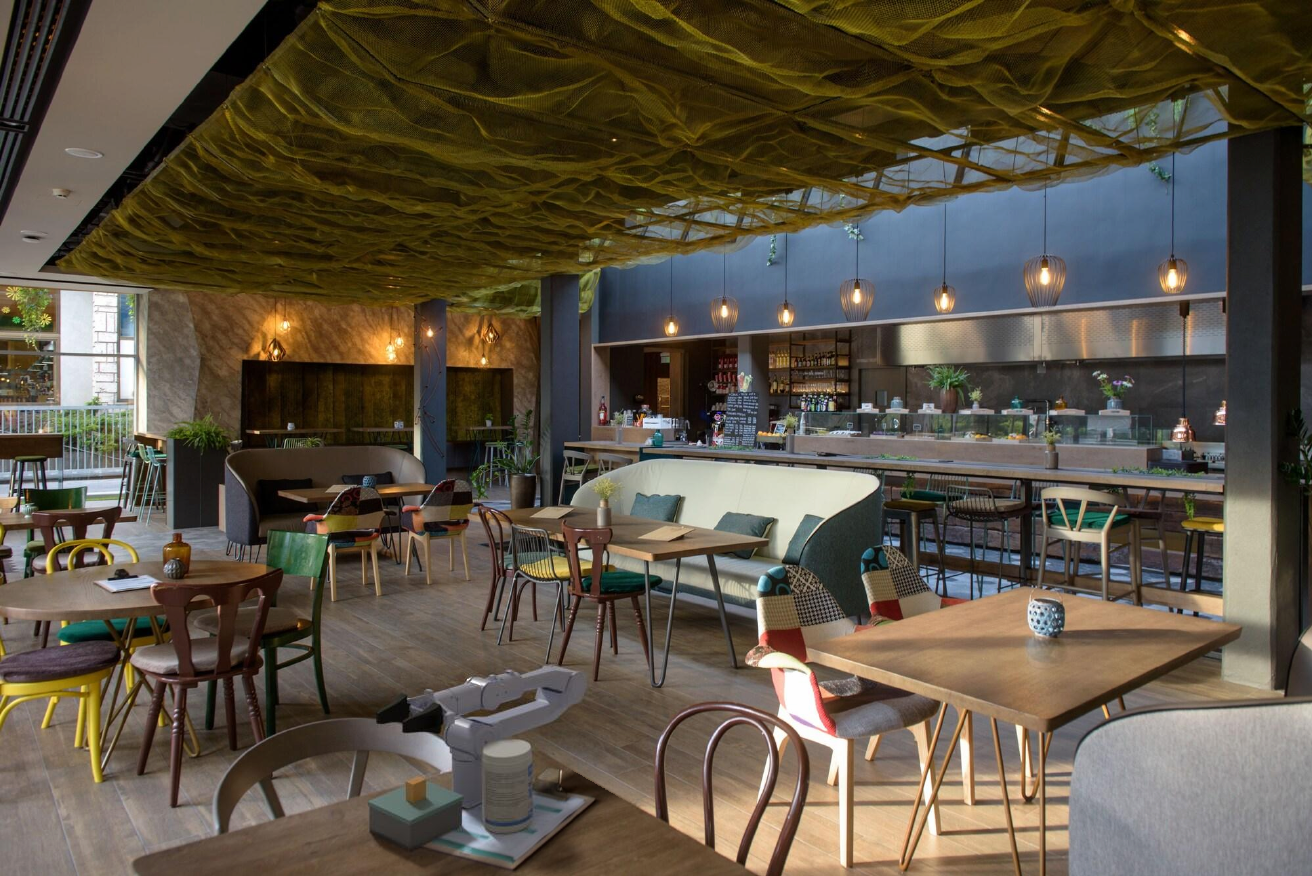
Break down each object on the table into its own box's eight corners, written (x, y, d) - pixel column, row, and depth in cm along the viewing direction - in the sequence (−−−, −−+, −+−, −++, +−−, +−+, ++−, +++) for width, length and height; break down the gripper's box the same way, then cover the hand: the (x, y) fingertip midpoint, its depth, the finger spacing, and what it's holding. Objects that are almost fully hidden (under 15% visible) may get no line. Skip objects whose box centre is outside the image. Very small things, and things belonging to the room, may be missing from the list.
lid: (421, 786, 171) (421, 761, 171) (463, 804, 164) (463, 777, 164) (367, 809, 161) (367, 783, 161) (409, 829, 154) (409, 801, 154)
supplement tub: (540, 827, 164) (541, 750, 163) (494, 840, 159) (494, 761, 158) (519, 807, 172) (519, 734, 171) (474, 819, 167) (474, 744, 166)
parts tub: (421, 808, 171) (421, 783, 171) (462, 826, 164) (462, 800, 164) (369, 831, 161) (369, 805, 161) (410, 851, 154) (410, 824, 154)
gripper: (424, 677, 175) (366, 693, 164) (473, 691, 166) (415, 709, 155) (423, 712, 175) (366, 730, 164) (472, 727, 166) (415, 748, 155)
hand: (390, 722), depth 160 cm, fingers open, 7 cm apart
